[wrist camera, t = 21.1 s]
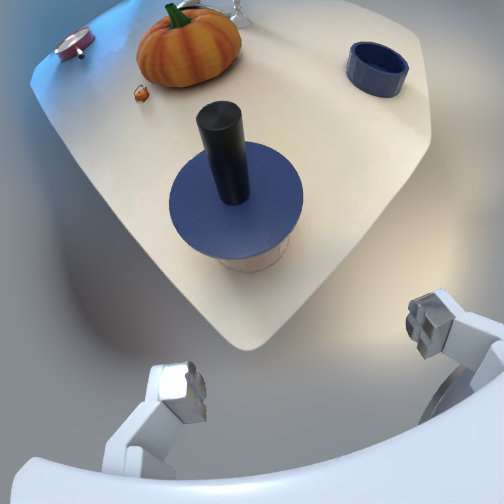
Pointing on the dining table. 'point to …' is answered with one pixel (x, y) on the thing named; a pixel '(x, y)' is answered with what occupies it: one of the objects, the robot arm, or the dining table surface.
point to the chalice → (240, 16)
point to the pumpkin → (187, 47)
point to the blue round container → (376, 69)
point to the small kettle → (141, 95)
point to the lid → (234, 191)
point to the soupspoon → (195, 0)
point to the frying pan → (75, 44)
